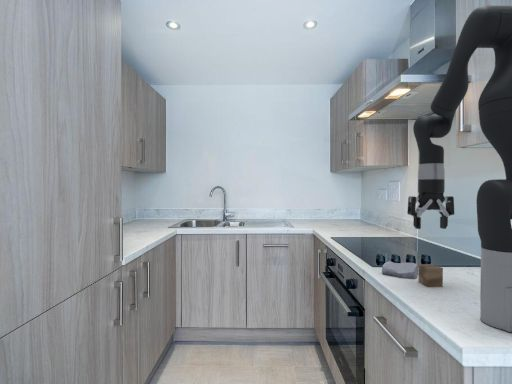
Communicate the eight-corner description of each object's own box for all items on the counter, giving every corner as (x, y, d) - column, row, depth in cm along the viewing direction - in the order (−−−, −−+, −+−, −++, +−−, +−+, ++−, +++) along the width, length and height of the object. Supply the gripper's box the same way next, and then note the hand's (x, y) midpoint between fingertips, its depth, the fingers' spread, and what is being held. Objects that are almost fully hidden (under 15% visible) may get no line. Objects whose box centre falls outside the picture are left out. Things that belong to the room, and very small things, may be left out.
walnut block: (442, 286, 103) (442, 267, 103) (427, 287, 102) (427, 268, 102) (433, 282, 108) (433, 264, 108) (418, 282, 107) (418, 264, 107)
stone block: (417, 285, 111) (419, 272, 119) (416, 272, 110) (418, 260, 118) (380, 281, 117) (384, 269, 125) (379, 268, 116) (384, 258, 124)
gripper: (416, 178, 100) (415, 230, 101) (460, 178, 101) (459, 230, 101) (403, 178, 108) (403, 227, 108) (444, 178, 109) (444, 226, 109)
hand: (430, 228), depth 105 cm, fingers open, 8 cm apart
